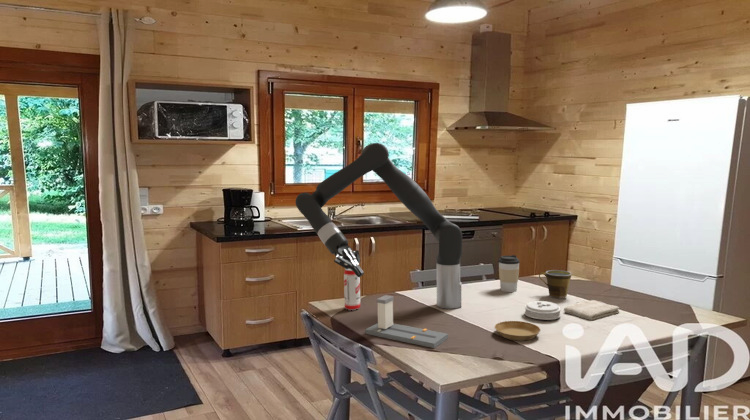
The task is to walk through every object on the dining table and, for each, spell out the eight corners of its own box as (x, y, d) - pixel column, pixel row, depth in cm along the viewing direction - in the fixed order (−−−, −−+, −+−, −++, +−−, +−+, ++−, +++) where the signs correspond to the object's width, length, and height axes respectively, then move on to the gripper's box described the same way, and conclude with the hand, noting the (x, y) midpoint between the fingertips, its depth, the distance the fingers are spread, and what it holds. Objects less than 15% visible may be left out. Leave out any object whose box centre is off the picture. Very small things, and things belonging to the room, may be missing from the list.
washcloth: (621, 313, 197) (621, 305, 196) (590, 322, 187) (591, 313, 187) (593, 305, 207) (593, 297, 206) (563, 313, 197) (563, 305, 197)
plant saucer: (490, 327, 183) (490, 320, 183) (533, 327, 183) (533, 320, 182) (499, 343, 168) (499, 335, 168) (545, 343, 168) (546, 335, 168)
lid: (526, 321, 189) (526, 308, 188) (523, 310, 201) (523, 298, 201) (563, 323, 187) (563, 309, 186) (557, 312, 199) (557, 299, 198)
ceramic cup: (573, 295, 220) (573, 271, 219) (567, 301, 212) (568, 276, 210) (541, 291, 227) (542, 268, 226) (535, 296, 218) (535, 273, 217)
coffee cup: (507, 293, 223) (508, 259, 222) (493, 289, 231) (493, 255, 230) (523, 290, 228) (524, 256, 226) (509, 286, 236) (509, 253, 234)
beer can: (361, 306, 210) (360, 267, 208) (359, 311, 204) (358, 270, 202) (345, 306, 211) (344, 266, 209) (343, 310, 204) (342, 270, 203)
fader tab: (377, 327, 179) (376, 299, 178) (385, 323, 183) (385, 295, 182) (385, 329, 177) (385, 300, 176) (393, 324, 182) (393, 296, 180)
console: (365, 333, 179) (365, 328, 179) (381, 325, 187) (381, 319, 187) (434, 348, 165) (434, 342, 165) (448, 338, 173) (447, 332, 173)
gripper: (326, 234, 181) (356, 272, 176) (349, 228, 192) (378, 265, 187) (315, 247, 185) (344, 286, 180) (337, 241, 196) (365, 277, 191)
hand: (361, 275), depth 183 cm, fingers closed
